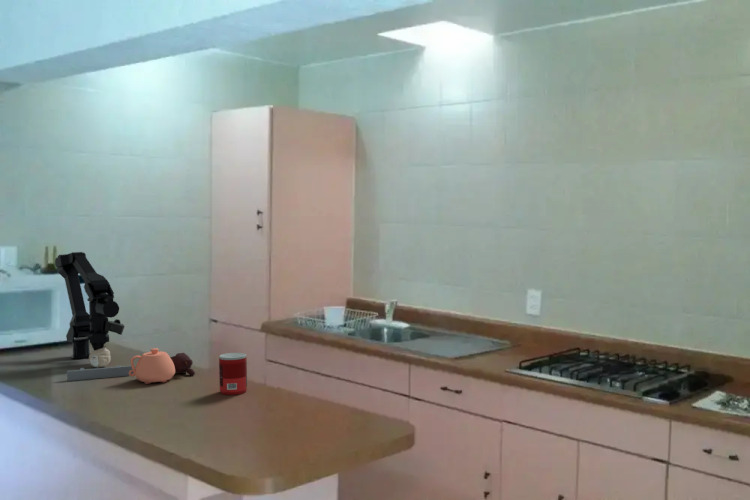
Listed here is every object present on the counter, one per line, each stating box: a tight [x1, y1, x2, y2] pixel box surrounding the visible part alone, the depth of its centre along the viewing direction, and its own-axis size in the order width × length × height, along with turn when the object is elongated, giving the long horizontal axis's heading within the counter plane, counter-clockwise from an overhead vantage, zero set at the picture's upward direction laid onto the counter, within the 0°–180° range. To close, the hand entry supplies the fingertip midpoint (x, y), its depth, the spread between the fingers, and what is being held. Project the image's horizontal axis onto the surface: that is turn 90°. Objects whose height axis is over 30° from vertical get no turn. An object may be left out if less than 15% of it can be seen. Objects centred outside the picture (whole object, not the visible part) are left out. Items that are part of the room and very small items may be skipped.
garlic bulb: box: [88, 344, 112, 368], centre depth 250 cm, size 7×6×8 cm
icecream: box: [169, 352, 196, 377], centre depth 241 cm, size 7×7×15 cm
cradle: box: [66, 364, 133, 382], centre depth 237 cm, size 6×20×3 cm, turn 112°
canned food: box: [218, 352, 248, 396], centre depth 215 cm, size 8×8×11 cm
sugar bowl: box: [129, 347, 176, 385], centre depth 230 cm, size 12×14×10 cm
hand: (99, 358), depth 256 cm, fingers closed
